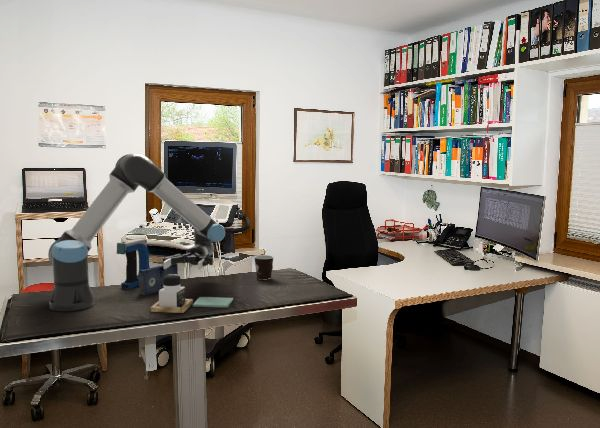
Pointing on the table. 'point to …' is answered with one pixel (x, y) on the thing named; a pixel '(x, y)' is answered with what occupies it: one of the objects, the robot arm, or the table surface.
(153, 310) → the oak cradle
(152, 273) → the vhs cassette tape
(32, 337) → the table surface
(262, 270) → the coffee mug
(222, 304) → the rubber mat
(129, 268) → the handheld scanner
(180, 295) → the medicine bottle
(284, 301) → the table surface
